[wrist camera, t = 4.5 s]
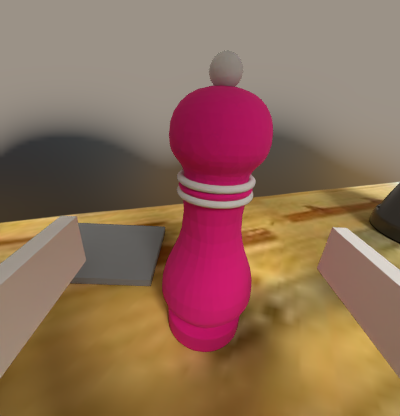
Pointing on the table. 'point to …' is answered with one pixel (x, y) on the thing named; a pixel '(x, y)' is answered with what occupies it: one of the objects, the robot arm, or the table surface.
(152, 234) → the charcoal mat
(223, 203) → the pepper mill
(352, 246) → the robot arm
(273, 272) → the table surface
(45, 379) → the table surface
